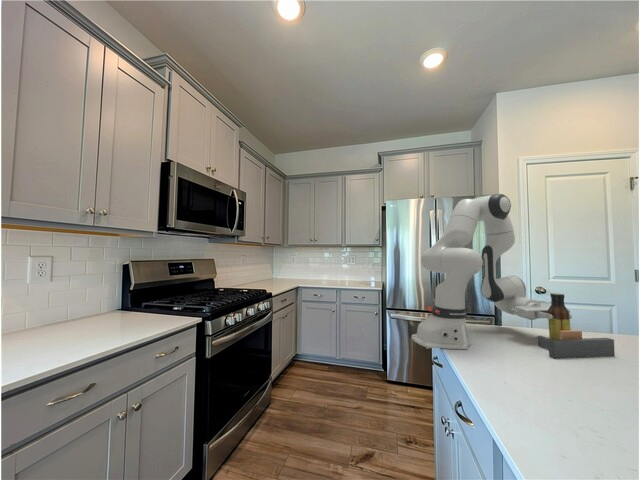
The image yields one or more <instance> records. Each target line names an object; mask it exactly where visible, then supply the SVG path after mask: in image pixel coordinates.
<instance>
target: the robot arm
mask: <svg viewBox="0 0 640 480" xmlns="http://www.w3.org/2000/svg"><path fill="white" fill-rule="evenodd" d="M511 208H512V203H511V201H510V198H509V197H508V196H507V195H505V194H504V193H496V194H495V193H494V194H492V195H491V194H490V195H485V196H478V197H475V198H464V199H463V198H462V199H461V200H459V201H458V202H457V204H456V205H455V207H454V209H453V211H452V212H451V215H450V216H449V220H448V222H447V224H446V227H445V229H444V232H443V233H442V235H441V236H440V238H439V239H438V240H437V241H436V242H435V243H434V244H433V245H432V246H431V247H430V248H427V249H426V250H425V251H423V252H422V254H421V257H420V263H421V265H422V267H423V268H424V269H425V270H426V271H429V272H433V273H436V274H437V273H439V274H445V279H444V280H443V281H442V282H441V283H439V284H438V285H436V287H435V304H434V307H432V306H430V305H428V306H427V307H426V310H427V311H428V312H431V314H430V315H429V316H427V317H426V318H425V319H424V320H422V321H421V322H420V323H418V326H417V329H416V333H413V334H412V335H411V339H412V341H414V342H415V343H417V344H418V345H420V346H422V347H425V348H427V349H444V350H445V349H449V350H468V347H469V346H470V345H471V342H470V338H469V335H468V330H467V308H466V290H467V286H468V284H469V281H470V280H471V279H472V277H473V276H475V275H476V274H478V273H479V272H480V270H481V286H480V293H481V294H482V296H483V297H484V299H486V300H488V301H490V302H492V303H493V304H494V306H496V308H497V309H498V310H500V311H502V312H504V313H506V314H509V315H512V316H518V317H520V318H522V319H526V320H530V321H534V320H535V321H536V320H537V319H547V320H548V319H554V315H553V314H548V309H549V308H550V306H551V303H550V302H548V301H543V300H537V299H533V298H532V299H531V298H527V293H526V292H527V288H526V284H525V282H524V281H523V280H522V279H521V278H520V277H518V276H516V275H506V276H503V277H500V278H497V261H498V259H499V258H500V257H502V255H503V254H504V253H506V252H508V251H509V250H511V249H512V247H513V246H514V244H515V242H516V241H515V239H516V237H515V230H514V227H513V223H512V220H511V218H510V216H509V215H510V211H511ZM481 221H482V222H483V223H484V225H483V226H484V233H485V244H484V247H482V250H481V254H480V252H479V251H478V250H477V249H473V248H467V247H464V246H467V245H468V244H470V243H471V242H472V240H473V238H474V235H475V232H476V229H477V227H478V223H479V222H481ZM566 308H567V310H568V311H569V319H570V320H571V319H573V315H572V314H571V310H570V309H569V308H568V307H566Z"/></svg>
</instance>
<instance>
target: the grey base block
mask: <svg viewBox="0 0 640 480" xmlns="http://www.w3.org/2000/svg"><path fill="white" fill-rule="evenodd" d="M537 346H538V347H540V348H542V349H545V350H548V356H549V358H552V359H554V360H556V359H558V360H559V359H581V358H582V359H583V358H585V359H587V358H588V359H589V358H608V357H609V358H610V357H615V353H616V352H615V339H613V338H611V337H590V338H589V337H588V338H587V337H586V338H583V337H582V339H550V337H546V336H544V335H537Z"/></svg>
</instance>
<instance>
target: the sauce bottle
mask: <svg viewBox="0 0 640 480" xmlns="http://www.w3.org/2000/svg"><path fill="white" fill-rule="evenodd" d="M550 299H551V303H550V304H551V306H550V308H549V309H548V314H553V315H554V319H547V320H548V334H549V338H550V339H560V336H559V331H564V330H571V319H569V311H568V310H567V308H568V307H566V305H565V294H564V293H558V292H550Z"/></svg>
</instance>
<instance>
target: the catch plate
mask: <svg viewBox="0 0 640 480" xmlns="http://www.w3.org/2000/svg"><path fill="white" fill-rule="evenodd" d="M559 336H560V339H582V338H583V331H582V330H578V329H572V330H564V331H559Z"/></svg>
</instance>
